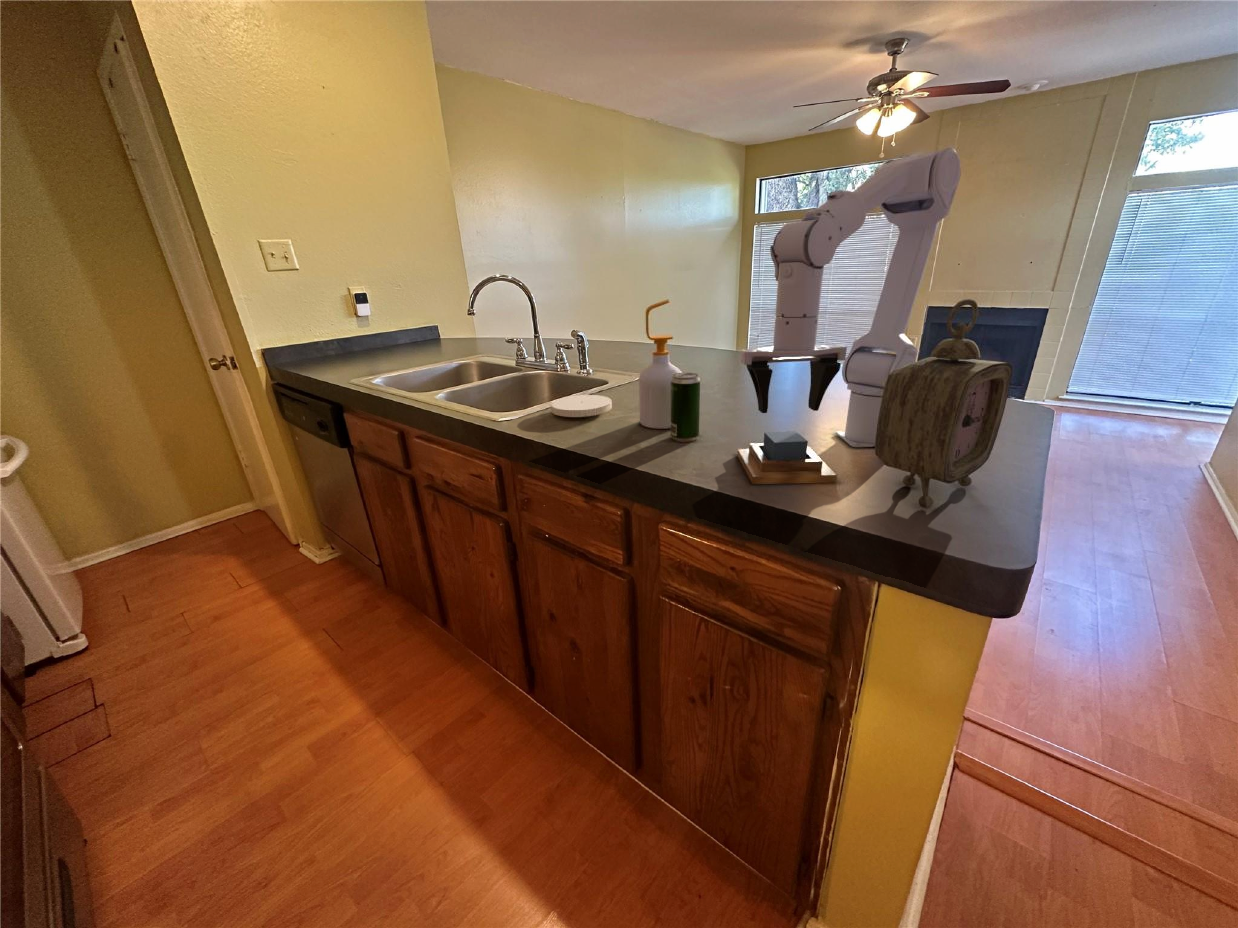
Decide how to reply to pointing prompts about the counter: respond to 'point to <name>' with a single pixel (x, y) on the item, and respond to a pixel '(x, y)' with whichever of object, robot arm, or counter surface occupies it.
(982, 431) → the tabletop clock
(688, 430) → the beer can
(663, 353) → the soap bottle
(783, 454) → the dark gray block
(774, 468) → the base pad
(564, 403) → the plastic lid
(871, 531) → the counter surface
